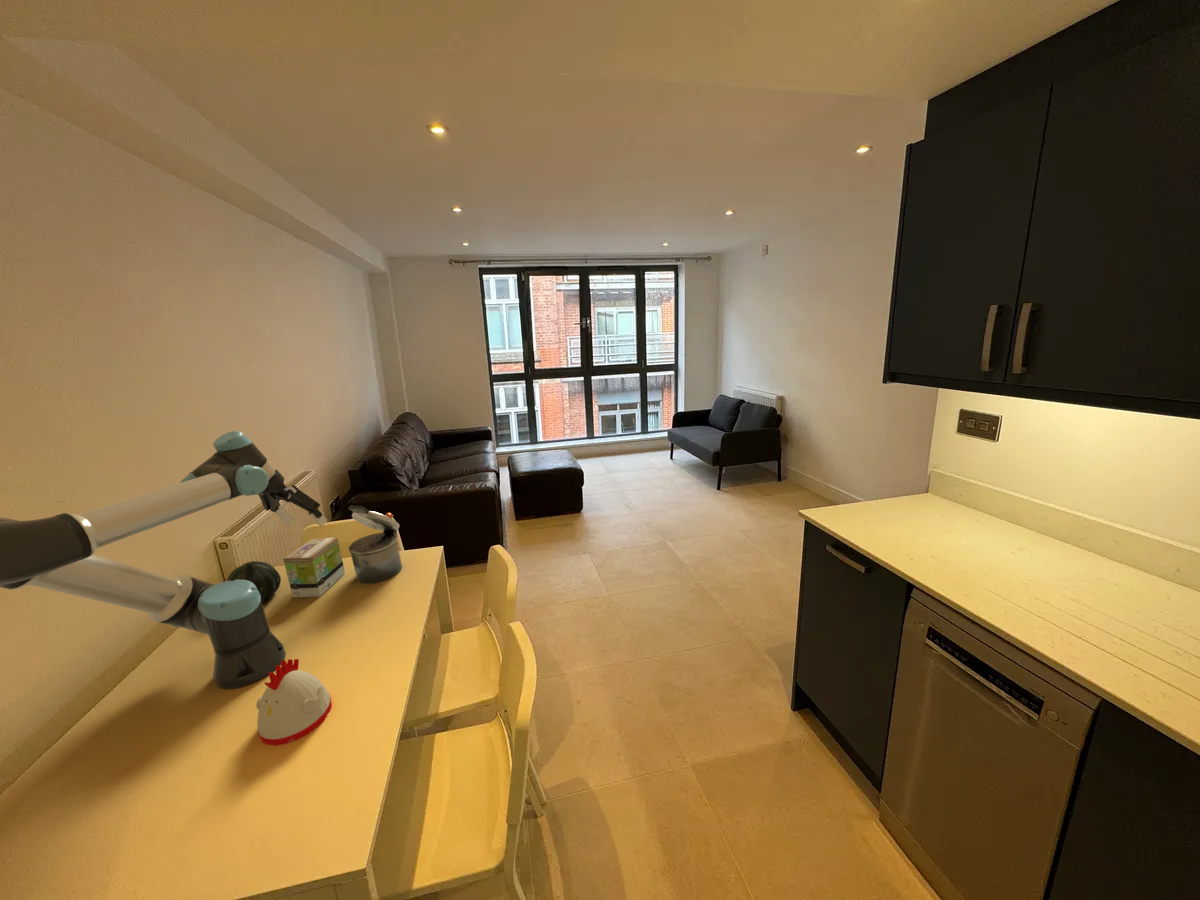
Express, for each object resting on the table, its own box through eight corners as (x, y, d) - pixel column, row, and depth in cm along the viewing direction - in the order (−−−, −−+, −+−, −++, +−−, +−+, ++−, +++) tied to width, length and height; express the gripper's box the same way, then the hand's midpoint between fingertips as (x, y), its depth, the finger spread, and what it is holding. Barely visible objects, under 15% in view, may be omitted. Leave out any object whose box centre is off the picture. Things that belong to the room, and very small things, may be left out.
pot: (382, 586, 156) (375, 554, 153) (345, 582, 161) (338, 551, 157) (414, 561, 172) (408, 532, 169) (380, 558, 176) (373, 529, 173)
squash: (236, 576, 159) (217, 559, 147) (286, 567, 164) (273, 550, 152) (232, 617, 152) (213, 603, 140) (285, 605, 157) (271, 591, 145)
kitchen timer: (244, 743, 98) (223, 685, 94) (293, 692, 112) (277, 640, 107) (301, 747, 96) (283, 688, 92) (345, 695, 109) (330, 642, 105)
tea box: (321, 597, 152) (311, 557, 148) (292, 598, 153) (281, 558, 149) (346, 573, 167) (337, 536, 163) (319, 574, 167) (310, 537, 163)
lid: (373, 509, 152) (378, 500, 154) (335, 507, 156) (340, 498, 158) (407, 533, 168) (411, 524, 170) (372, 531, 172) (376, 522, 174)
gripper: (304, 467, 135) (345, 514, 148) (242, 468, 142) (286, 513, 155) (287, 485, 129) (330, 533, 143) (223, 485, 136) (270, 531, 150)
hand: (307, 523), depth 149 cm, fingers open, 13 cm apart
